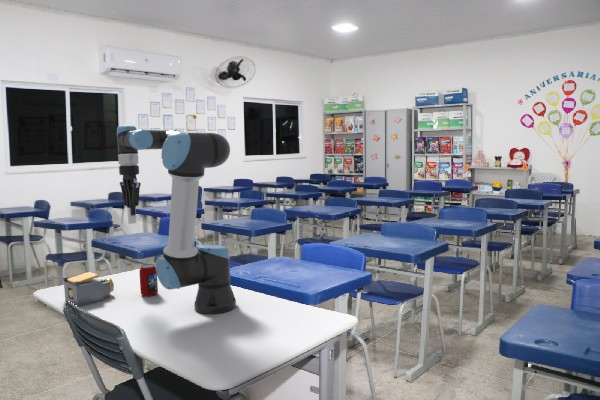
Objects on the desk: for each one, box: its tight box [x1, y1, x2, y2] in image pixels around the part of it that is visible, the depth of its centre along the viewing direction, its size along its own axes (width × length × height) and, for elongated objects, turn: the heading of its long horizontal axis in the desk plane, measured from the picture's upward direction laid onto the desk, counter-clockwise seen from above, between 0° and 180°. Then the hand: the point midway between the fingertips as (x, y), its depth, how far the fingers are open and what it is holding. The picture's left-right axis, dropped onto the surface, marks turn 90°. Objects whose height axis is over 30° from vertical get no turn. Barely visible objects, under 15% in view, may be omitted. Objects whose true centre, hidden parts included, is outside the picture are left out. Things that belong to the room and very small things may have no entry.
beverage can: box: [139, 263, 159, 297], centre depth 198 cm, size 7×7×12 cm
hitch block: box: [62, 276, 111, 307], centre depth 193 cm, size 12×14×10 cm
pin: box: [69, 277, 115, 298], centre depth 194 cm, size 16×6×6 cm, turn 137°
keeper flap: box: [67, 271, 99, 284], centre depth 191 cm, size 8×9×1 cm
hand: (132, 223), depth 197 cm, fingers closed
